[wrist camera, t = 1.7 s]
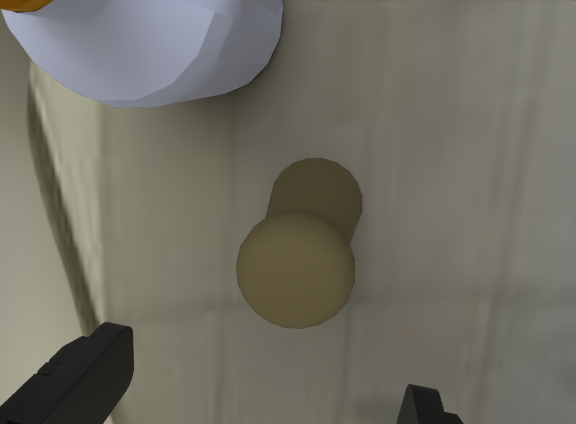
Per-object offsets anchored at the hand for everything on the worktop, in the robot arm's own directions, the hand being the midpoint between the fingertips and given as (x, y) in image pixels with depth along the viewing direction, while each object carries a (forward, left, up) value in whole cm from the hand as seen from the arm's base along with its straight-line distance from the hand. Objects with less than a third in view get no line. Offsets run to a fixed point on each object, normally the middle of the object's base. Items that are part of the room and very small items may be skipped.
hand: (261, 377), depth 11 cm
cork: (0, 0, -16) cm, 16 cm away
